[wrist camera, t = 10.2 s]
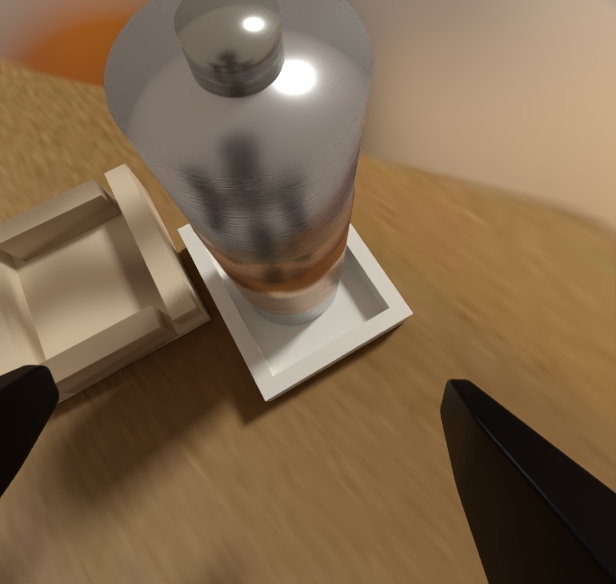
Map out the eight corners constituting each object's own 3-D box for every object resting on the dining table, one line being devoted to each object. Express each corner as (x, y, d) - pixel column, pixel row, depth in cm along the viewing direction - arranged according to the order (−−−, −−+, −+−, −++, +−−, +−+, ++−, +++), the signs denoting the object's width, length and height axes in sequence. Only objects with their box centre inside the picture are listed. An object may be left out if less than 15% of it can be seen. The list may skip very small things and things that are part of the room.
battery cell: (344, 322, 18) (405, 128, 5) (243, 330, 18) (52, 159, 5) (335, 230, 19) (362, -96, 7) (241, 238, 19) (90, -71, 7)
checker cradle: (211, 319, 19) (195, 307, 16) (43, 411, 18) (0, 413, 15) (146, 190, 21) (124, 163, 19) (-4, 263, 20) (-47, 244, 18)
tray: (404, 321, 18) (412, 313, 17) (270, 401, 17) (265, 401, 16) (309, 182, 21) (308, 163, 19) (189, 244, 20) (177, 229, 18)
